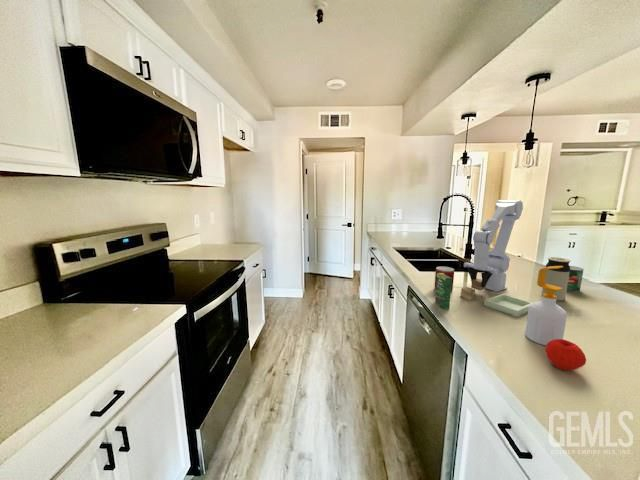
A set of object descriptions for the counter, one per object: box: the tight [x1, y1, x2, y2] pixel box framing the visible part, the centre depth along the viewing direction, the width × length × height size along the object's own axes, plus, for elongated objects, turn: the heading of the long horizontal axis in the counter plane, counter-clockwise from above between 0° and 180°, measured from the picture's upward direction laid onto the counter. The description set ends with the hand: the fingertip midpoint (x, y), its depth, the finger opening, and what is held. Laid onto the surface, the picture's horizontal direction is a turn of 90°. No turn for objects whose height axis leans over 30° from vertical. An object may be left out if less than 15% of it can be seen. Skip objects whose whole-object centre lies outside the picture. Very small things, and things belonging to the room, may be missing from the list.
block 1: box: [460, 286, 476, 300], centre depth 118 cm, size 4×4×4 cm
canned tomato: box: [566, 265, 584, 293], centre depth 127 cm, size 8×8×11 cm
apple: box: [544, 338, 587, 372], centre depth 70 cm, size 8×8×7 cm
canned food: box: [434, 265, 455, 293], centre depth 126 cm, size 8×8×11 cm
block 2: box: [470, 277, 486, 291], centre depth 121 cm, size 4×4×4 cm
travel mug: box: [541, 256, 572, 302], centre depth 116 cm, size 8×8×18 cm
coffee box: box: [434, 273, 452, 310], centre depth 109 cm, size 8×3×13 cm, turn 0°
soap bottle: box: [524, 266, 568, 346], centre depth 82 cm, size 9×9×25 cm
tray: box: [483, 293, 533, 318], centre depth 107 cm, size 14×12×3 cm
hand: (478, 285), depth 121 cm, fingers closed on block 2, 4 cm apart
